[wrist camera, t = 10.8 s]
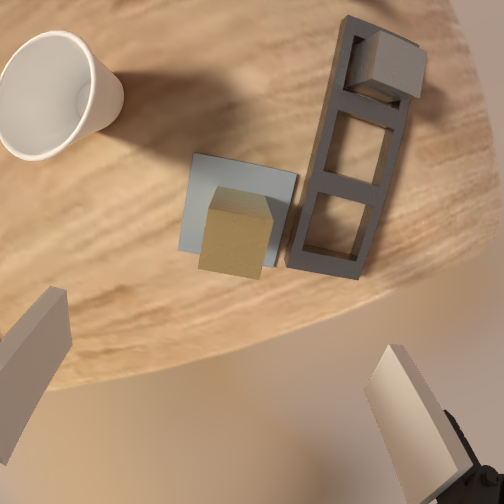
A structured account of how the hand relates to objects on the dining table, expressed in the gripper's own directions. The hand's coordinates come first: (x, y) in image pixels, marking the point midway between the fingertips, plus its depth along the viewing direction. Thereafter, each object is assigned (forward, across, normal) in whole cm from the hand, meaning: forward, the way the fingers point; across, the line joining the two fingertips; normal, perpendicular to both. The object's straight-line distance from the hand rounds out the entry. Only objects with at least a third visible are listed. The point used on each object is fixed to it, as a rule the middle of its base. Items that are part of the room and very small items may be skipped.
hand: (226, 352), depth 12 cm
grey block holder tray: (+21, +10, +9) cm, 25 cm away
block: (+21, +10, +17) cm, 29 cm away
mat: (+21, 0, 0) cm, 21 cm away
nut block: (+21, 0, 0) cm, 21 cm away
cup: (+22, -16, +9) cm, 28 cm away
